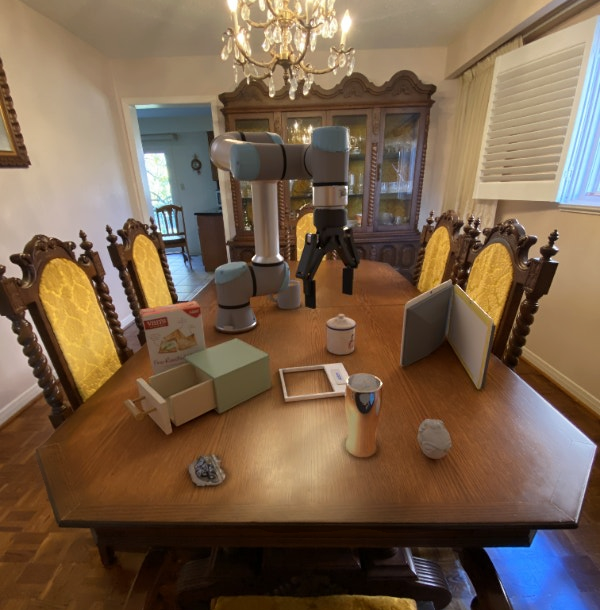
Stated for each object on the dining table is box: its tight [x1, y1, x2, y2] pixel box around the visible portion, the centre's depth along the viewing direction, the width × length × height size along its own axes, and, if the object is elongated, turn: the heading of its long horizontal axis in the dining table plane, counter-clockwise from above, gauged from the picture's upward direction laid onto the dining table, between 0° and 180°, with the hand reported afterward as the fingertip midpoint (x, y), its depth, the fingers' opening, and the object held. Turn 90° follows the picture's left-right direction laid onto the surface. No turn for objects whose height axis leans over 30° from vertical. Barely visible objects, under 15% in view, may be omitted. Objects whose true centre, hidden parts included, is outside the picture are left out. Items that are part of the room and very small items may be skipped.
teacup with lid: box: [325, 313, 357, 356], centre depth 109 cm, size 12×9×12 cm
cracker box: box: [140, 300, 207, 376], centre depth 92 cm, size 14×6×21 cm, turn 117°
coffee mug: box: [268, 279, 301, 310], centre depth 149 cm, size 13×10×10 cm
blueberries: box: [187, 454, 226, 487], centre depth 64 cm, size 7×8×2 cm
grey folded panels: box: [399, 279, 497, 390], centre depth 100 cm, size 35×22×20 cm, turn 174°
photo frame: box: [278, 362, 350, 403], centre depth 92 cm, size 15×1×18 cm
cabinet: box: [184, 337, 272, 414], centre depth 88 cm, size 16×15×10 cm
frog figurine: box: [416, 418, 452, 460], centre depth 66 cm, size 6×7×7 cm
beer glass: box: [344, 372, 383, 458], centre depth 66 cm, size 7×7×15 cm
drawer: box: [123, 362, 217, 436], centre depth 79 cm, size 19×13×8 cm
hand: (329, 300), depth 83 cm, fingers open, 13 cm apart
